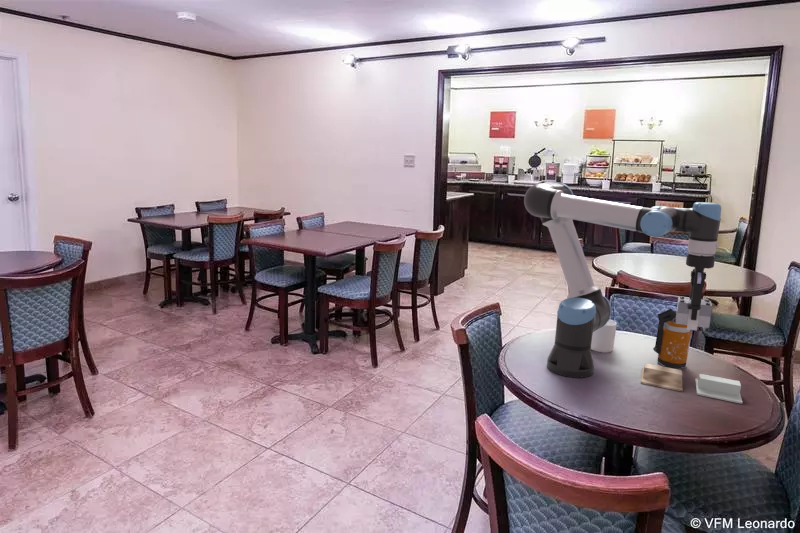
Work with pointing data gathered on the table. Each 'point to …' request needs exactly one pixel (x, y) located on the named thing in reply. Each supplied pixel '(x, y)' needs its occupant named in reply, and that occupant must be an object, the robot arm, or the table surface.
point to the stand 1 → (662, 377)
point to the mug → (604, 337)
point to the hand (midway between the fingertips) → (691, 326)
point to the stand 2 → (718, 388)
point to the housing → (684, 312)
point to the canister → (672, 341)
